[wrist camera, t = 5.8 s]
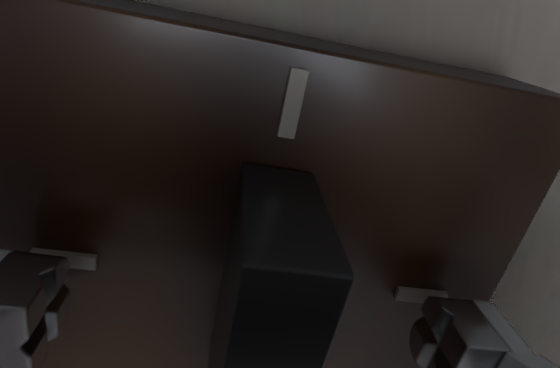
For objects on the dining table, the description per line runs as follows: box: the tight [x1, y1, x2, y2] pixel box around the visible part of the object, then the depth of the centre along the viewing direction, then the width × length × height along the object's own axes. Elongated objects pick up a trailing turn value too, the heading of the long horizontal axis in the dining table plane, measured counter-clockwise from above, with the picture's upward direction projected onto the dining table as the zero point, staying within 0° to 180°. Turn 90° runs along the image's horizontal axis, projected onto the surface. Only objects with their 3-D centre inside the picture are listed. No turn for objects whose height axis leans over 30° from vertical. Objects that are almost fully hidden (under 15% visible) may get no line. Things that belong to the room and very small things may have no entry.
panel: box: [0, 0, 560, 368], centre depth 11 cm, size 13×11×3 cm
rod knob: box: [208, 163, 354, 368], centre depth 8 cm, size 6×2×4 cm, turn 168°
